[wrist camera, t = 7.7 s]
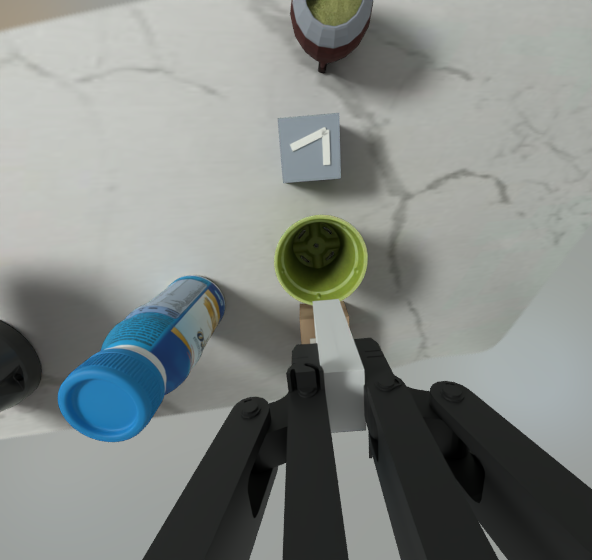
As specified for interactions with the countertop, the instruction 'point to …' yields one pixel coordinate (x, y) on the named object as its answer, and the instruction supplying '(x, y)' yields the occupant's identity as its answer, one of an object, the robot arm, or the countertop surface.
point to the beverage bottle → (142, 361)
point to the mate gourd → (330, 27)
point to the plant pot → (320, 259)
